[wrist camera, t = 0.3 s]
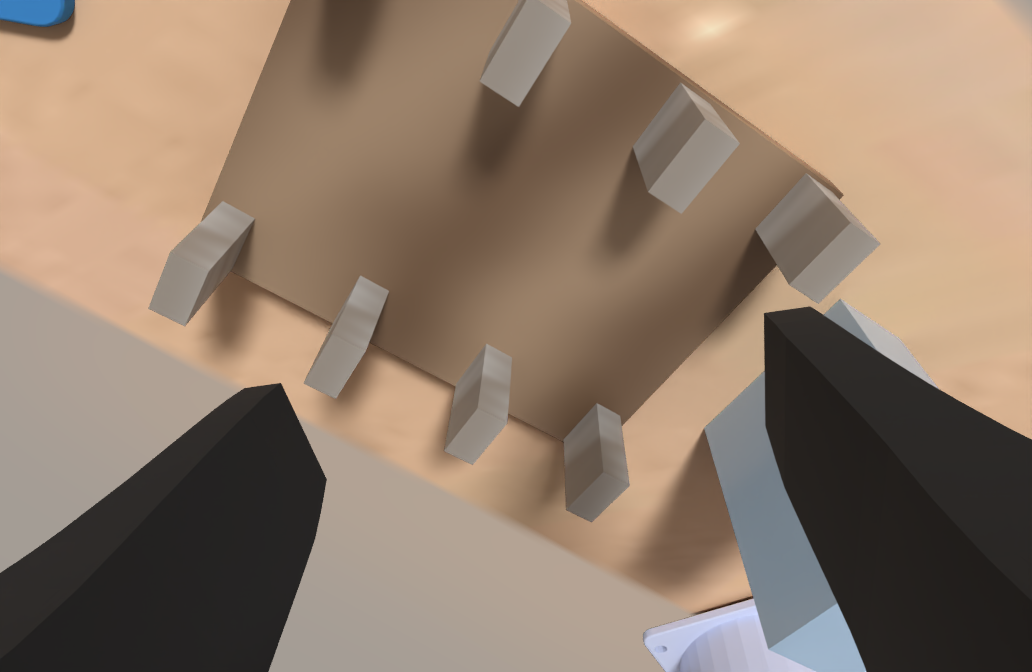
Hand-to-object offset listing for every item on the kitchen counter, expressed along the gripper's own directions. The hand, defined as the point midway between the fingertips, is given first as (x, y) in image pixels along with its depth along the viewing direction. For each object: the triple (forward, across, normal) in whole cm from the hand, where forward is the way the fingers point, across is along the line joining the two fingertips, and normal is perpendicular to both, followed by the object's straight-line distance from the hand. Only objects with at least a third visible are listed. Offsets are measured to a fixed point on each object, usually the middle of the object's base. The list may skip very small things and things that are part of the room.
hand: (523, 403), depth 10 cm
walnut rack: (+10, +1, +1) cm, 10 cm away
